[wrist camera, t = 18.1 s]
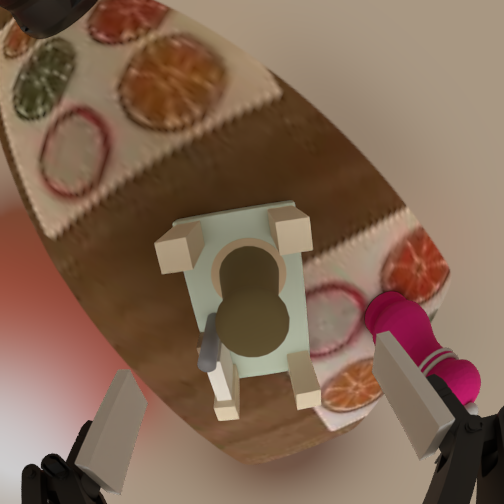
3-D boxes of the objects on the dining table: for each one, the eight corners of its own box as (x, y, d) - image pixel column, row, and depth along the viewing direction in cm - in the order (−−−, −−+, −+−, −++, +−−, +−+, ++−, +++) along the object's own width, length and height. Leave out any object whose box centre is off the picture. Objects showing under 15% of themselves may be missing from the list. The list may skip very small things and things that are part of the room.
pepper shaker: (234, 235, 27) (230, 278, 16) (289, 261, 28) (316, 315, 17) (209, 287, 28) (193, 351, 18) (262, 310, 29) (272, 380, 19)
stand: (176, 219, 28) (146, 243, 19) (291, 200, 28) (316, 215, 19) (216, 370, 34) (210, 428, 24) (307, 357, 34) (325, 412, 24)
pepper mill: (353, 334, 33) (423, 455, 14) (371, 284, 31) (474, 392, 12) (396, 336, 34) (472, 437, 15) (415, 290, 32) (515, 378, 13)
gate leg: (207, 329, 30) (199, 370, 23) (226, 327, 30) (223, 367, 23) (221, 379, 32) (218, 420, 25) (239, 377, 32) (239, 418, 25)
